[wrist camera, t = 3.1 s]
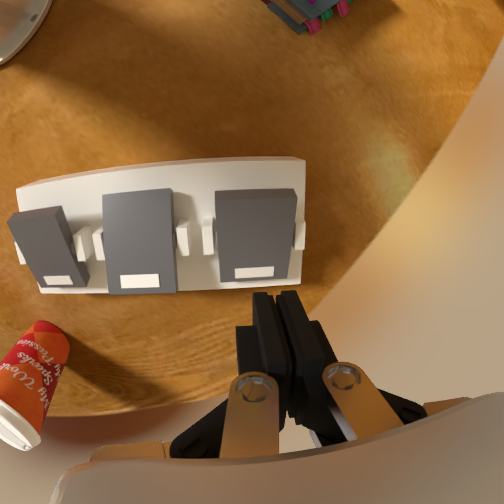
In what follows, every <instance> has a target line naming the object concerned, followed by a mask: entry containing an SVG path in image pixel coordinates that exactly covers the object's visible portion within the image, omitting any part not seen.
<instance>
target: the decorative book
mask: <svg viewBox="0 0 504 504" xmlns="http://www.w3.org/2000/svg"><path fill="white" fill-rule="evenodd" d="M262 1H263V2H265V3H266V4H267V5H268V6H267V7H268V8H269V9H270V10H271V11H272V12H274V13H275V14H276V15H277V16H278V17H279V18H281V19H282V20H283V21H284V22H285V23H286V24H287V25H289V26H290V27H291V28H292V29H293V30H294V31H295V32H296V33H297V34H298V35H299V34H300V33H302V32H303V31H304V30H306V29H307V28H309V31H310V33H311V35H313V34H314V33H316V32H317V31H318V30H320V29H321V26H320V24H319V19H321V18H322V19H323V22H324V21H326V20H327V19H328V18H330V17H331V16H333V14H332V10H331V9H332V8H334V7H335V6H337V8H338V12H339V14H340V16H341V18H342V17H343V16H345V15H346V14H347V13H349V12H350V9H349V7H348V5H347V1H348V3H350V2H351V1H353V0H262Z"/></svg>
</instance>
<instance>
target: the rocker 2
mask: <svg viewBox="0 0 504 504" xmlns="http://www.w3.org/2000/svg"><path fill="white" fill-rule="evenodd" d="M297 200H298V197H297V195H296V193H295V191H294V188H279V189H242V190H219V191H215V214H216V247H218V257H219V270H220V283H223V282H241V281H258V280H273V279H287V276H288V269H289V262H290V255H291V247H292V241H293V232H294V224H295V216H296V208H297Z"/></svg>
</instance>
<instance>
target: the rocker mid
mask: <svg viewBox="0 0 504 504" xmlns="http://www.w3.org/2000/svg"><path fill="white" fill-rule="evenodd" d="M102 214H103V237H104V252H105V264H106V274H107V284H108V292H109V295H115V294H156V293H176V292H177V291H178V289H179V287H178V275H177V262H176V249H177V234H176V231H175V228H174V204H173V190H172V189H171V188H163V189H152V190H141V191H131V192H122V193H113V194H104V195H102Z"/></svg>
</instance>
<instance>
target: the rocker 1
mask: <svg viewBox="0 0 504 504" xmlns="http://www.w3.org/2000/svg"><path fill="white" fill-rule="evenodd" d="M7 223H8V226H9V228H10V230H11V232H12V234H13V237H14V239H15V241H16V243H17V245H18V247H19V249H20V251H21V253H22V255H23V257H24V258H25V260H26V262H27V264H28V266H29V268H30V270H31V271H32V273H33V275H34V277H35V278H36V280H37V282H38V284H39V285H40V287H41V288H73V287H87V284H88V282H89V279H90V275H89V273H88V271H87V268H86V266H85V264H84V262H83V261H78V258H77V254H76V250H75V245H74V241H73V235H72V233H71V230H70V227H69V225H68V222H67V219H66V217H65V214H64V211H63V208H62V205H60V206H54V207H47V208H41V209H34V210H28V211H23V212H17V213H14V214H13V215H12V216H11V218H10V219H9V220H8V221H7Z"/></svg>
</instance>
